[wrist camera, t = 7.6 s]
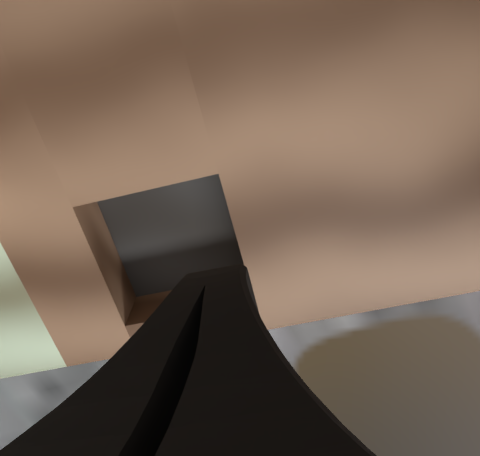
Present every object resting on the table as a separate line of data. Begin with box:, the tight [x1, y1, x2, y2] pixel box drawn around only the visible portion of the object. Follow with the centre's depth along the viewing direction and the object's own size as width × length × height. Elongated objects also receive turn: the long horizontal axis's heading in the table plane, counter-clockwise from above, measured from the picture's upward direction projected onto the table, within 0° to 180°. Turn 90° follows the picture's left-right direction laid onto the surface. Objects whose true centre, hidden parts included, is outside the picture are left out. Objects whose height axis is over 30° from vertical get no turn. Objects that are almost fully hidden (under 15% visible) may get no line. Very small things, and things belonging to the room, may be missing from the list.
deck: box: [0, 0, 480, 379], centre depth 14 cm, size 21×24×5 cm
